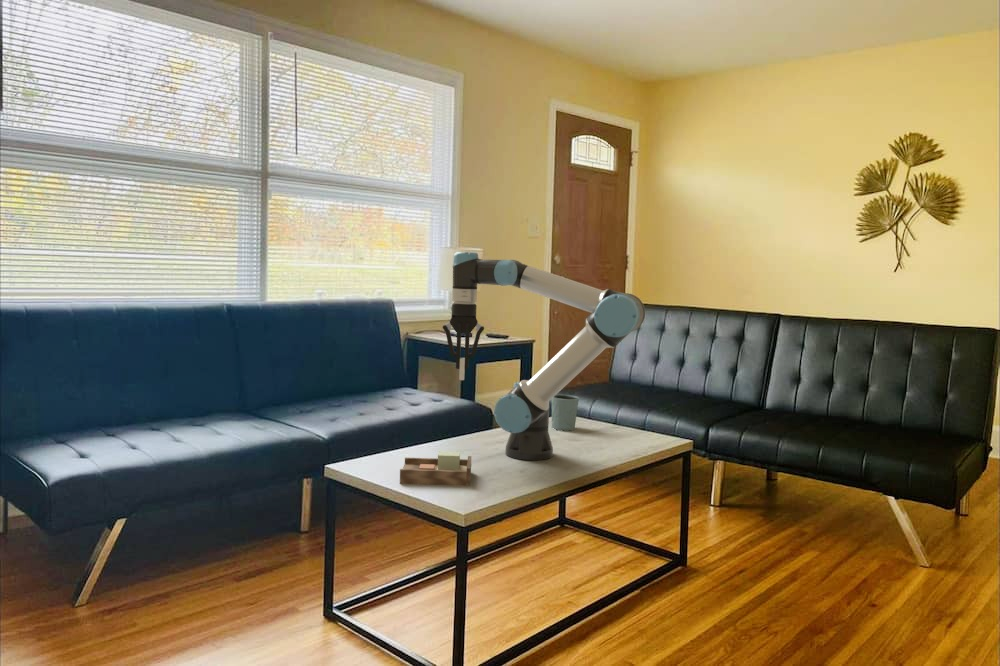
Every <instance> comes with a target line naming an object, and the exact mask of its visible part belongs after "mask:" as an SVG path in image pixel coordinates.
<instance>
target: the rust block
mask: <svg viewBox="0 0 1000 666" xmlns="http://www.w3.org/2000/svg"><path fill="white" fill-rule="evenodd" d="M419 469H421V470H435V465H434V464H420V467H419Z"/></svg>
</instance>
